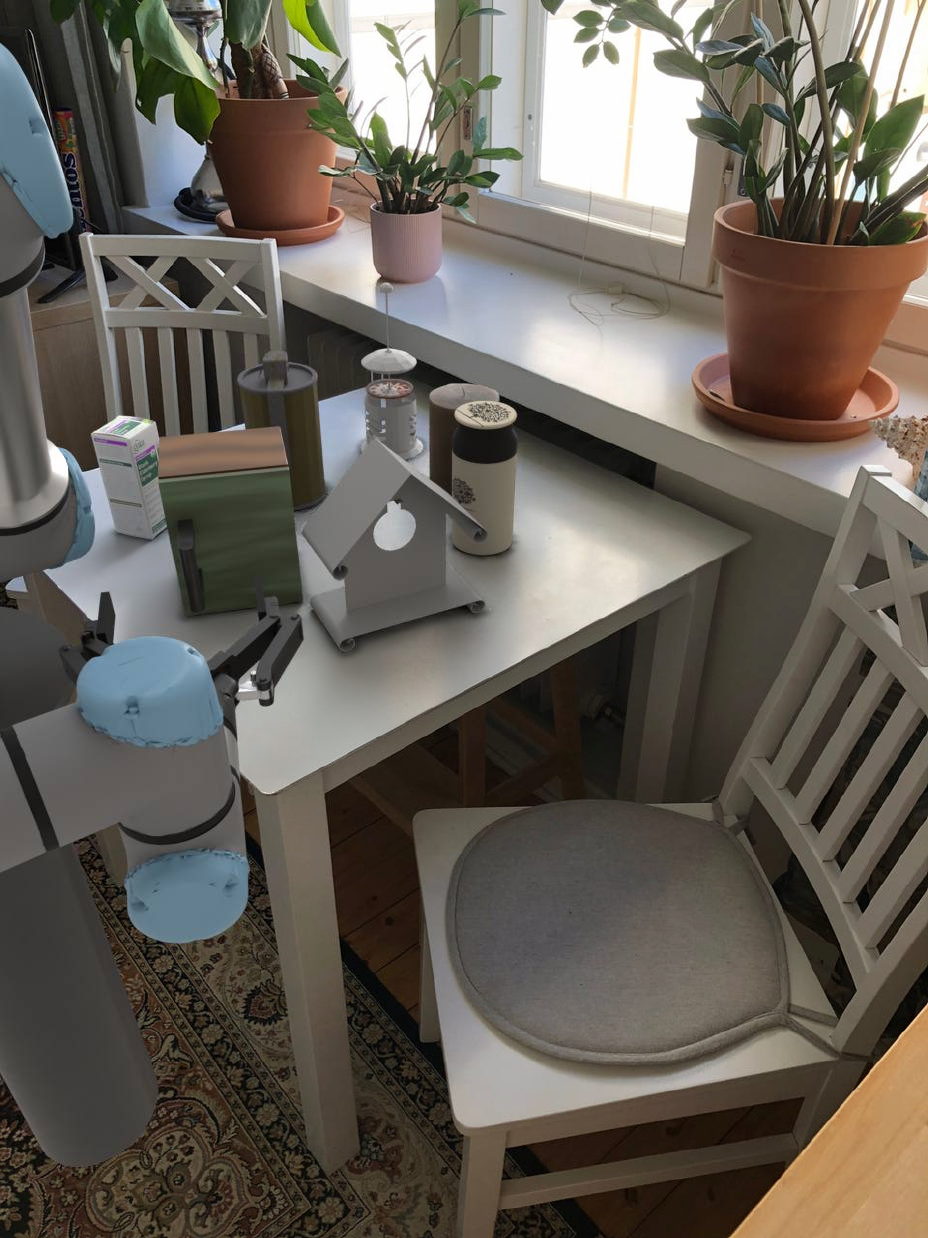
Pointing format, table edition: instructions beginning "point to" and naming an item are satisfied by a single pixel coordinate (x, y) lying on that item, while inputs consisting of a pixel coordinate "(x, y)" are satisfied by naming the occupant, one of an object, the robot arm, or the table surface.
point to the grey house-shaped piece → (386, 578)
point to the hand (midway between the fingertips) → (184, 594)
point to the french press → (391, 399)
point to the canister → (288, 419)
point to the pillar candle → (449, 426)
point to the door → (232, 538)
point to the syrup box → (131, 475)
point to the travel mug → (485, 473)
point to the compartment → (221, 452)
